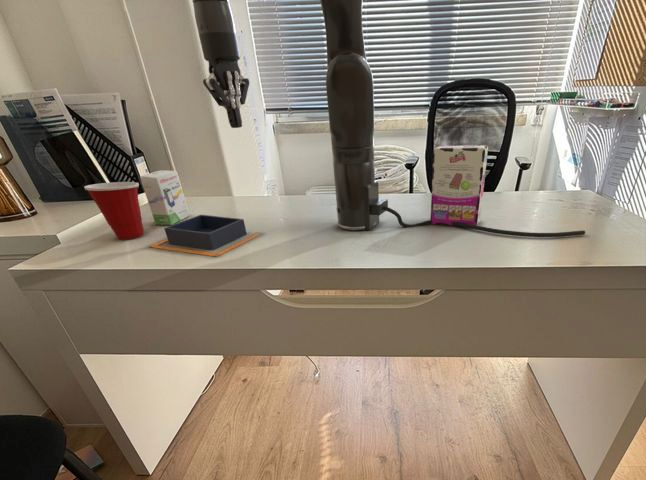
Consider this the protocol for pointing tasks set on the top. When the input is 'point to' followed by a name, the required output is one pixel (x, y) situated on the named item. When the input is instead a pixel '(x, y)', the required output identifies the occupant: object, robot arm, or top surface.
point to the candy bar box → (458, 184)
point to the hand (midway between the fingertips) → (236, 127)
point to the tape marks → (199, 251)
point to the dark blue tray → (205, 231)
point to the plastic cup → (119, 207)
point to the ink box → (165, 197)
